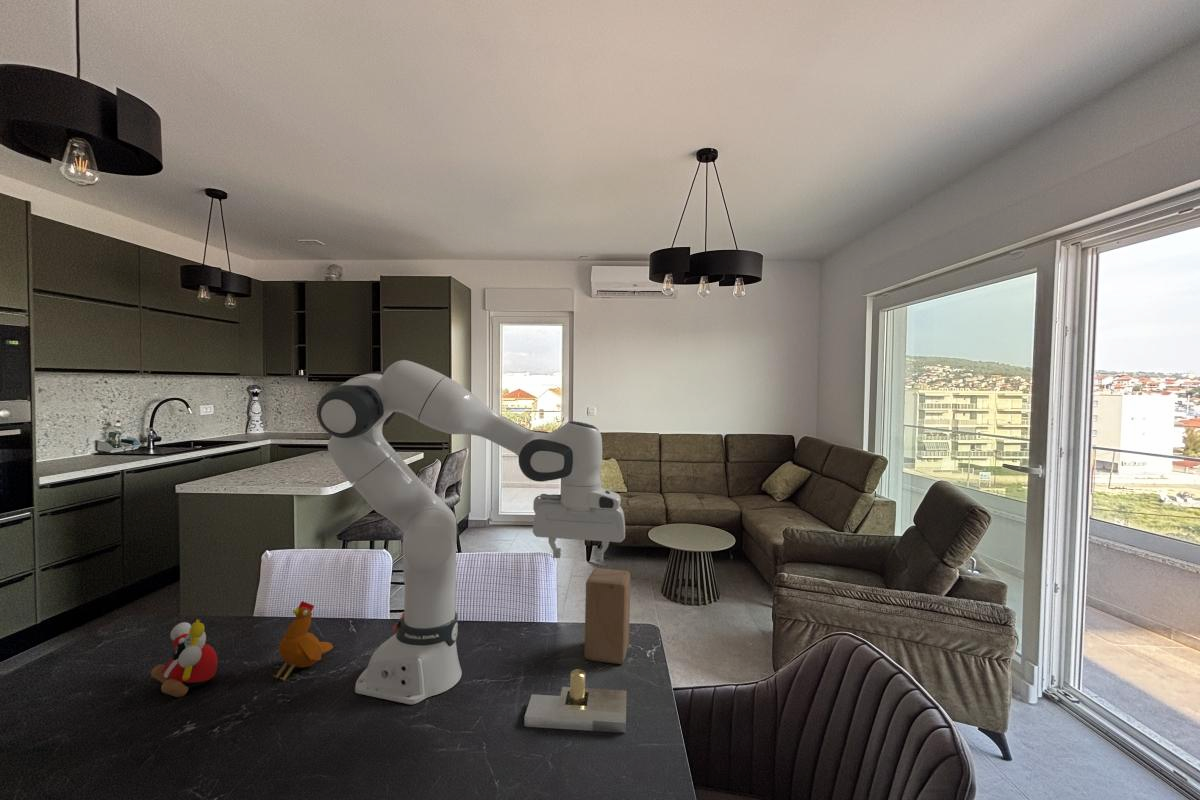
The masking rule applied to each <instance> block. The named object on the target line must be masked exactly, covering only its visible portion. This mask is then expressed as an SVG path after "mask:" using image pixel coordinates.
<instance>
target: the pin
mask: <svg viewBox="0 0 1200 800" xmlns="http://www.w3.org/2000/svg"><path fill="white" fill-rule="evenodd" d="M569 685H570V686H569V687H570V705H580V706H584V702H585V688H586V671H585V670H584V669H578V668H576V669H573V670H571V671H570V684H569Z"/></svg>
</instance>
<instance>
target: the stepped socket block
mask: <svg viewBox="0 0 1200 800" xmlns="http://www.w3.org/2000/svg"><path fill="white" fill-rule="evenodd" d="M561 687H562V688H561V691H560V695H552V694H551V695H549V694H547V695H546V694H536V693H535V694H531V695H530V699H529V702H528V706H527V707H526V711H525V714H524V721H523V722H524V727H528V728H544V729H545V728H546V729H556V730H557V729H561V730H574V731H576V730H577V731H590V732H604V733H605V732H606V733H620V734H622V733H623V734H626V733H627V731H626V730H627V690H625V689H624V690H621V689H607V688H606V689H603V688H589V687H588V688H587V687H585V702H584V706H580V705H570V686H561Z"/></svg>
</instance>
